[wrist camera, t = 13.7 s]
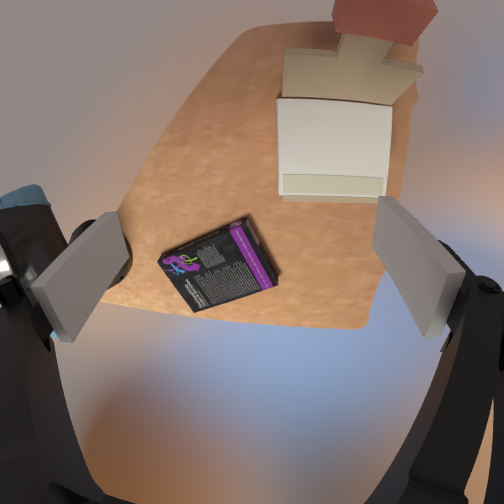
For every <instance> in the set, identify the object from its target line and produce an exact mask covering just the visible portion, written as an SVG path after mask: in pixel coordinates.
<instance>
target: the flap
mask: <svg viewBox="0 0 504 504" xmlns="http://www.w3.org/2000/svg"><path fill="white" fill-rule="evenodd" d="M437 12H438V10H437V7H436V5H435V3H434V1H433V0H335V4H334V8H333V12H332V17H333V22H334V27H335V32H336V33H342V35H341V38H340V41H339V43H338V46H337V49H336V51H335V50H323V49H307V48H283V74H282V97H315V98H332V99H344V100H355V101H364V102H372V103H379V104H386V105H392V104H393V103H394V102H395V101H396V100H397V99H398V98H399V97H400V96H401V95H402V94H403V93H404V92H405V91H406V90H407V89H408V88H409V87H410V86H411V85H412V84H413V83H414V82H415V81H416V80H417V79H418V78H419V77H420V76H421V75H422V74H423V73H424V72H423V68H422V66H420V65H416V64H412V63H408V62H404V61H399V60H394V59H389V58H385V56H386V55H387V53H388V52H389V50H390V49H391V47H392V46H393V44H394V43H395V42H397V43H401V44H405V45H409V46H412V45H413V43H414V42H415V41H416V39H417V38H418V37H419V36H420V34H421V33H422V31H423V30H424V29H425V28H426V27H427V25H428V24H429V23H430V21H431V20H432V19H433V18H434V16H435V15H436V14H437Z"/></svg>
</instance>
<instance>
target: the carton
mask: <svg viewBox="0 0 504 504" xmlns="http://www.w3.org/2000/svg"><path fill="white" fill-rule="evenodd" d="M276 119H277V173H278V189H279V195H282V198H283V202H340V203H369V204H377V201H378V196H385V193H386V185H387V177H388V167H389V156H390V144H391V129H392V107H387V106H380V105H372V104H364V103H355V102H344V101H332V100H315V99H276Z"/></svg>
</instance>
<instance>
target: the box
mask: <svg viewBox="0 0 504 504" xmlns="http://www.w3.org/2000/svg"><path fill="white" fill-rule="evenodd" d="M157 263H158V265H159V266H160V267H161V268H162V270H163V271H164V272H165V274H166V275H167V277H168V278H169V279H170V281H171V282H172V284H173V285H174V286H175V288H176V289H177V290H178V292H179V293H180V295H181V296H182V297H183V299H184V300H185V301H186V303H187V304H188V305H189V307H190V308H191V310H192V311H193V312H194V313H195V312H198V311H202V310H205V309H208V308H211V307H214V306H217V305H221V304H224V303H227V302H230V301H233V300H236V299H239V298H242V297H245V296H248V295H251V294H254V293H257V292H260V291H263V290H266V289H269V288H272V287H274V286H277V285H278V275H277V273H276V271H275V270H274V268H273V266H272V264H271V262H270V260H269V258H268V256H267V255H266V253H265V251H264V249H263V247H262V245H261V243H260V241H259V240H258V238H257V236H256V234H255V232H254V230H253V228H252V226H251V224H250V223H249V221H248V219H247V218H244V219H242V220H239V221H237V222H235V223H233V224H230V225H228V226H226V227H223V228H221V229H219V230H217V231H214V232H212V233H210V234H208V235H205V236H203V237H201V238H199V239H196V240H194V241H192V242H190V243H188V244H185V245H183V246H181V247H179V248H177V249H175V250H172V251H170V252H168V253H166V254H164V255H162V256H161V257H160V258H159V260H158V261H157Z"/></svg>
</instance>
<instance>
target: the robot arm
mask: <svg viewBox="0 0 504 504" xmlns="http://www.w3.org/2000/svg"><path fill="white" fill-rule="evenodd" d="M372 246H373V248H374V250H375V251H376V253H377V255H378V256H379V258H380V259H381V261H382V263H383V264H384V266H385V268H386V269H387V271H388V273H389V275H390V276H391V278H392V280H393V281H394V283H395V285H396V287H397V288H398V290H399V292H400V294H401V296H402V297H403V299H404V301H405V303H406V305H407V307H408V308H409V310H410V312H411V314H412V316H413V318H414V320H415V322H416V324H417V326H418V327H419V330H420V332H421V334H422V336H423V338H429V337H434V336H439V335H441V333H442V331H443V329H444V327H445V324H446V323H447V324H448V326H449V328H450V329H451V331H450V333H449V335H448V337H447V339H446V341H445V343H444V345H443V347H442V349H441V351H440V352H442V355H441V358H440V361H439V364H438V367H437V369H436V372H435V375H434V377H433V380H432V383H431V385H430V388H429V390H428V392H427V395H426V397H425V399H424V402H423V404H422V406H421V409H420V411H419V413H418V415H417V417H416V419H415V421H414V423H413V425H412V427H411V429H410V432H409V433H408V435H407V437H406V439H405V441H404V443H403V444H402V446H401V448H400V450H399V452H398V453H397V455H396V457H395V459H394V460H393V462H392V464H391V465H390V467H389V469H388V470H387V472H386V473H385V475H384V477H383V478H382V480H381V481H380V483H379V484H378V486H377V487H376V488H375V490H374V492H373V493H372V494H371V496H370V497H369V498H368V499H367V501H366V502H365V503H364V504H468V499H467V497H466V496H465V495H464V490H465V487H466V484H467V482H468V479H469V477H470V474H471V472H472V469H473V466H474V464H475V461H476V458H477V455H478V452H479V449H480V446H481V443H482V440H483V436H484V432H485V429H486V425H487V422H488V418H489V414H490V409H491V404H492V400H494V419H493V441H492V453H491V463H490V470H489V477H488V484H487V489H486V494H485V499H484V503H483V504H504V292H503V291H502V289H501V287H500V286H499V284H498V283H496V282H495V281H494V280H492V279H491V278H489V277H486V276H476V275H475V274H474V273H473V272H472V271H471V269H470V268H469V267H468V266H467V265H466V264H465V263H464V262H463V261H462V260H461V259H460V257H459V256H458V255H457V254H455V252H454V251H453V250H452V249H451V248H450V247H449V246H448V245H447V244H445V243H443V242H441V241H440V240H437V239H436V238H435V237H434V236H433V235H432V234H431V233H430V232H429V231H428V230H427V229H426V228H425V227H424V226H423V225H422V224H421V223H420V222H419V221H418V220H417V219H416V218H415V217H414V216H413V215H412V214H411V213H410V212H408V211H407V210H406V209H405V208H404V207H403V206H402V205H401V204H400V203H399V202H398V201H397V200H396V199H394V198H393V197H392V196H378V201H377V211H376V220H375V229H374V236H373V244H372ZM131 265H132V254H131V250H130V247H129V245H128V243H127V241H126V239H125V238H124V236H123V234H122V230H121V226H120V223H119V219H118V215H117V211H115V212H107V213H104V214H103V215H102V216H101V217H99V218H98V219H97V220H88V221H85V222H84V223H82V224H81V225H80V226H79V227H78V228H76V229H75V231H74V232H73V234H72V236H71V238H70V241H69V243H68V244H67V242H66V240H65V238H64V236H63V234H62V232H61V230H60V228H59V225H58V223H57V221H56V219H55V216H54V214H53V212H52V210H51V205H50V203H49V202H48V201H47V199H46V196H45V194H44V192H43V190H42V188H41V187H40V186H38V185H35V184H33V185H28V186H25V187H22V188H19V189H17V190H14V191H12V192H10V193H8V194H5V195H3V196H2V197H1V198H0V304H1V305H2V307H1V308H0V504H135V503H131V502H128V501H124V500H121V499H118V498H115V497H112V496H109V495H106V494H105V493H104V492H103V491H102V490H101V489H100V487H99V486H98V485H97V484H96V483H95V482H94V480H93V479H92V477H91V475H90V472H89V470H88V468H87V466H86V463H85V460H84V457H83V455H82V452H81V449H80V446H79V444H78V441H77V438H76V435H75V432H74V429H73V426H72V422H71V419H70V416H69V412H68V408H67V404H66V401H65V397H64V393H63V388H62V384H61V379H60V375H59V370H58V364H57V359H56V353H55V347H54V342H53V340H52V338H55V339H59V340H60V341H64V342H70V343H73V342H74V340H75V339H76V337H77V335H78V334H79V332H80V330H81V329H82V327H83V326H84V324H85V322H86V321H87V319H88V318H89V316H90V314H91V313H92V311H93V310H94V308H95V306H96V305H97V303H98V302H99V300H100V299H101V297H102V296H103V294H104V293H105V291H106V290H108V289H110V288H111V287H113V286H115V285H117V284H118V283H120V282H121V281H122V280H123V279H124V278H125V277H126V275H127V274H128V272H129V271H130V269H131ZM51 337H52V338H51Z"/></svg>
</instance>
